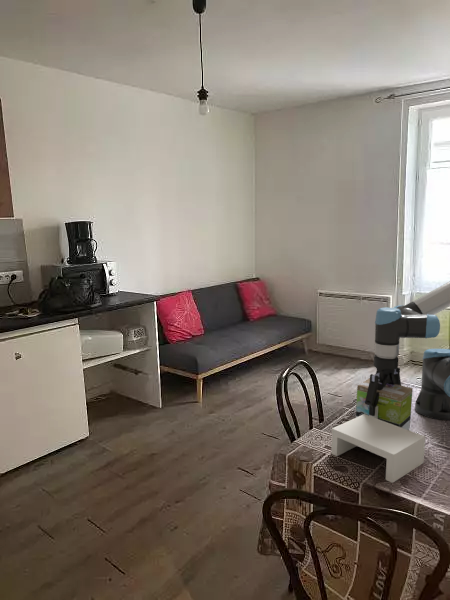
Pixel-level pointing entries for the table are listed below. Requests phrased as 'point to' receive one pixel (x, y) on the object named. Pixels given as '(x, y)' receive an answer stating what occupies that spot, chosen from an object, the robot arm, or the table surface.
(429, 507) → the table surface
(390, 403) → the tea box
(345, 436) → the white riser stand
